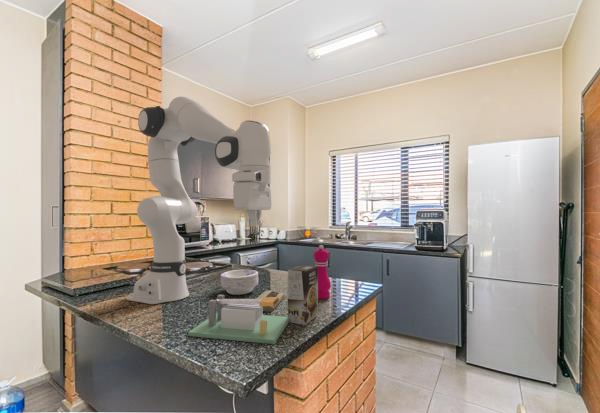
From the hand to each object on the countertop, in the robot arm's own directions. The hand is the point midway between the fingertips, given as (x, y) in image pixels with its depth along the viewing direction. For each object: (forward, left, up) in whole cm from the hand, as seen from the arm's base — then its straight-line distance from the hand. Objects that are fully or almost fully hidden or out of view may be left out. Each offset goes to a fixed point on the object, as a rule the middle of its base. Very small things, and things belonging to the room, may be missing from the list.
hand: (254, 226), depth 82 cm
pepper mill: (+14, +34, -29) cm, 47 cm away
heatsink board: (-4, 0, -29) cm, 29 cm away
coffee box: (+12, +10, -30) cm, 33 cm away
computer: (-3, +22, -30) cm, 37 cm away
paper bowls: (-20, +34, -29) cm, 49 cm away
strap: (-3, 0, -22) cm, 22 cm away
